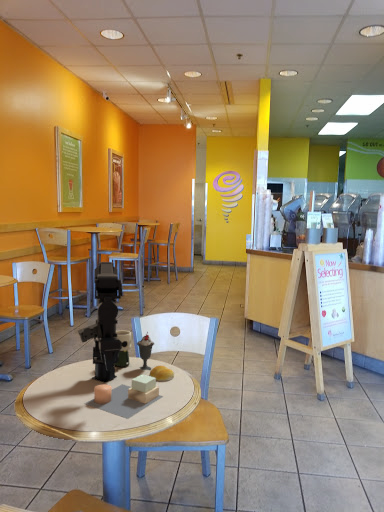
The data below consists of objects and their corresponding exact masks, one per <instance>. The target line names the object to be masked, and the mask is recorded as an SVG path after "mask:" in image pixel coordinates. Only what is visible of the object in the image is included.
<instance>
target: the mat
mask: <svg viewBox="0 0 384 512" xmlns="http://www.w3.org/2000/svg"><path fill="white" fill-rule="evenodd" d="M131 387H132V386H129V385H126V384H120V385H119V386H117V387H114V388H112V391H111V401H110V402H109V403H105V404H98V403H95V402H94V398H93V399H90V400H88V401H86V402H85V403H83V404H84V405H87V406H89V407H92V408H94V409H97V410H100V411H104V412H107V413H110V414H113V415H116V416H119V417H121V418H124V419H126V420H129V419H130V418H132V417H134V416H135V415H137V414H138V413H139V412H141V411H143V410H144V409H146V408H148V407H149V406H151V405H152V404H155V402H156V403H157V401H159V400H160V399H162V398H163V397H164V396H163V395H161V394H159V396H158V397H156V398H154V399H153V400H151V401H149V402H148V403H146V404H145V403H142V402H139V401H135V400H132V399H129V398H128V389H129V388H131Z"/></svg>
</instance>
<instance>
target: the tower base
mask: <svg viewBox="0 0 384 512" xmlns="http://www.w3.org/2000/svg"><path fill="white" fill-rule="evenodd" d="M130 387H131V388H129V389H128V398H129V399H132V400H135V401H139V402H142V403H145V404H146V403H148V402H149V401H151V400H153V399H154V398H156V397H158V396H159V395H160V387H159V386H157V385H156V387H155V388H153V389H151V390H150V391H148V392H146V393H144V392H141V391H137V390H134V389H132V386H130Z"/></svg>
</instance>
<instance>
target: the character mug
mask: <svg viewBox="0 0 384 512" xmlns="http://www.w3.org/2000/svg"><path fill="white" fill-rule="evenodd" d="M116 333H117V338H118V339H119V340H120V341H121V342H122V349H121V350H120V351H119V361H118V362H117V363H114V366H117V367H127V365H130V354H129V350H130V349H131V347H132V331H130V330H125V329H124V330H123V329H122V330H116Z"/></svg>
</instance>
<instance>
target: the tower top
mask: <svg viewBox="0 0 384 512" xmlns="http://www.w3.org/2000/svg"><path fill="white" fill-rule="evenodd" d="M156 386H157V380H156V378H154V377H151V376H150V375H146V374H143V373H142V374H141V375H138V376H136V377H134V378H132V379H131V387H132V389H134V390H137V391H141V392H144V393H146V392H148V391H150V390H151V389H153V388H155V387H156Z"/></svg>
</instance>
